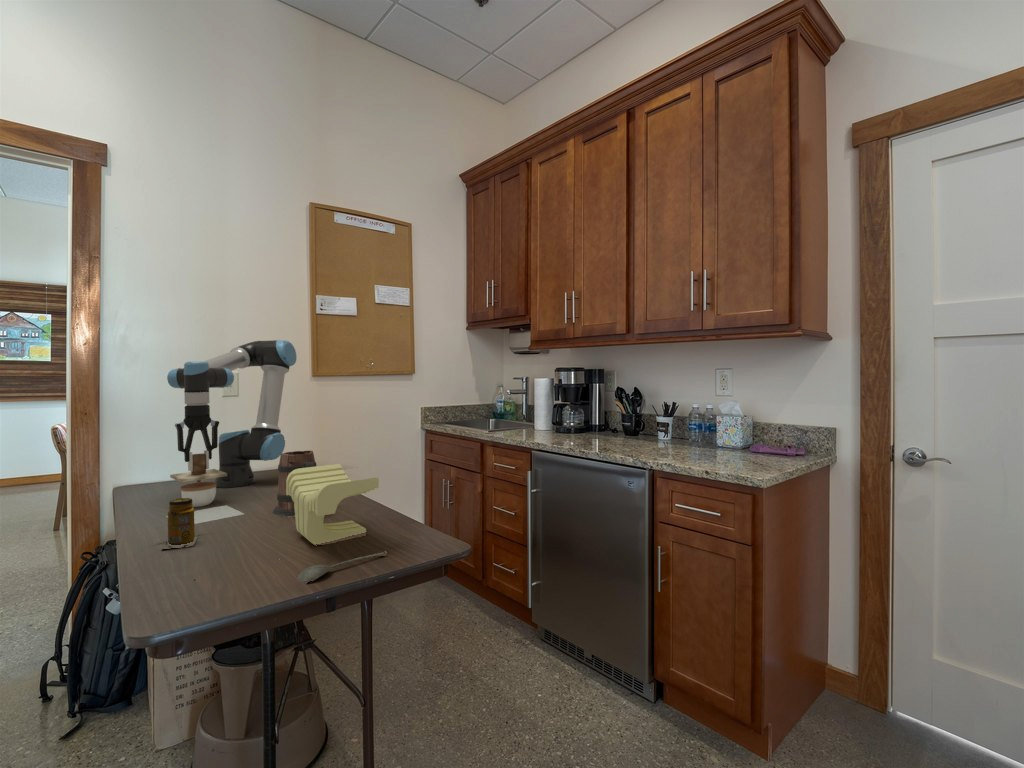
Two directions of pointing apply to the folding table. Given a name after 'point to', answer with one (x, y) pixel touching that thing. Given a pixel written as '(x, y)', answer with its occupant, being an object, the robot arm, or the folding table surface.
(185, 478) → the lid
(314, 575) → the soupspoon
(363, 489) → the slatted curved stool
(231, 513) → the mat
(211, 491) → the lidded jar
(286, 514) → the tankard
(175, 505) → the condiment
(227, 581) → the folding table surface
